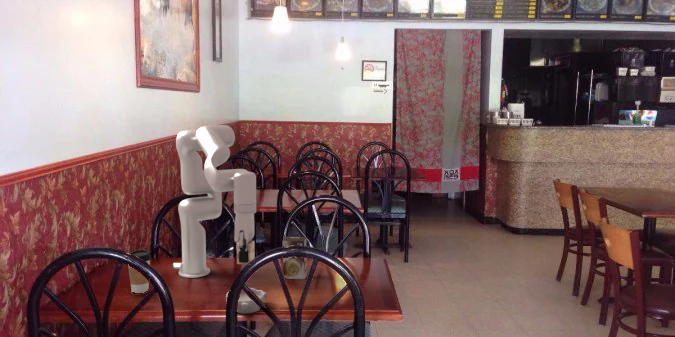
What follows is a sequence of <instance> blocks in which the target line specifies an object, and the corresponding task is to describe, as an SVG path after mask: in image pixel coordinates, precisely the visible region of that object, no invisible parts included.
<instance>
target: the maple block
mask: <svg viewBox="0 0 675 337" xmlns="http://www.w3.org/2000/svg"><path fill="white" fill-rule="evenodd" d="M243 242H246V240H244V241H243ZM244 245H246V244H244ZM255 249H256V248H255V240H252V241H249V242H248V250H247V251H249V262H250V261H252V260H253V259H254V258H256V257H255V253H256V252H255V251H256V250H255ZM249 262H248V263H249ZM248 263H240V262H239V241H238V242H237V243H236V264H237V265H249V264H248Z"/></svg>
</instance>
